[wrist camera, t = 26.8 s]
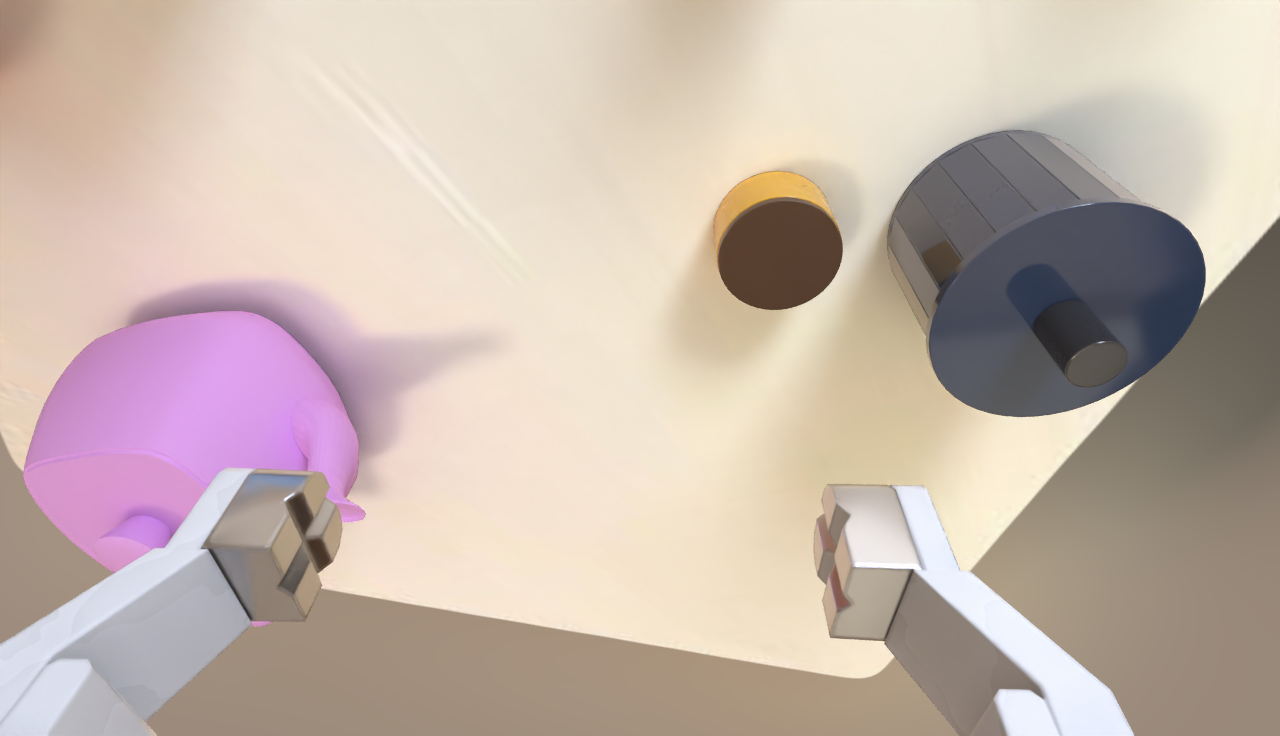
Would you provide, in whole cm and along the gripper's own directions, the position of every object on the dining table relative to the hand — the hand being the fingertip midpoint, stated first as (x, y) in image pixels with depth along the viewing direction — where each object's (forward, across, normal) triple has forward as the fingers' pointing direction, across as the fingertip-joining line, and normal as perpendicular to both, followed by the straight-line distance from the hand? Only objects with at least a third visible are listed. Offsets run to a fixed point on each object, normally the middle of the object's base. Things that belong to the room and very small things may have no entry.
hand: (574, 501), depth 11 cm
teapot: (+31, +28, +24) cm, 48 cm away
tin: (+31, -8, +10) cm, 34 cm away
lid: (+22, -21, +10) cm, 32 cm away
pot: (+31, -21, +10) cm, 39 cm away
